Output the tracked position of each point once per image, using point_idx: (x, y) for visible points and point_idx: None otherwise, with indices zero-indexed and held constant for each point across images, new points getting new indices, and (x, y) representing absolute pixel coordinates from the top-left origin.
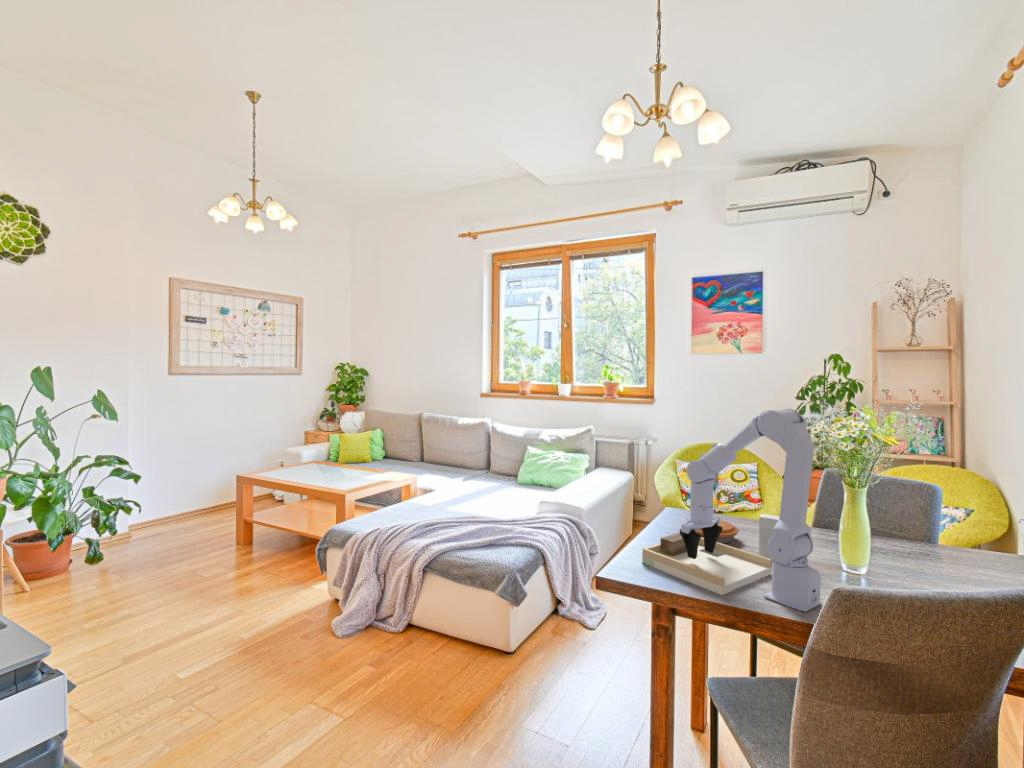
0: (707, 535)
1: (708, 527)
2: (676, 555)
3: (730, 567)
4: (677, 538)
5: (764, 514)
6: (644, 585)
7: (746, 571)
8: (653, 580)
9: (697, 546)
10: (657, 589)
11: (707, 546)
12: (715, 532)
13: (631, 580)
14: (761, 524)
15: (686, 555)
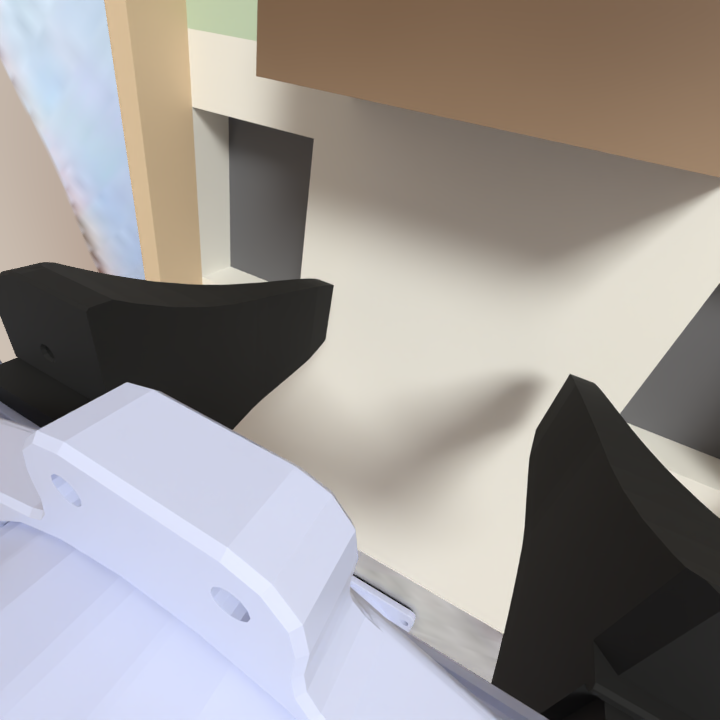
0: (570, 520)
1: (559, 670)
2: (403, 117)
3: (426, 503)
4: (451, 31)
5: None
6: (54, 157)
7: (424, 561)
8: (110, 160)
9: (248, 404)
10: (80, 226)
11: (561, 423)
12: (504, 664)
13: (26, 62)
14: None
15: (469, 201)
